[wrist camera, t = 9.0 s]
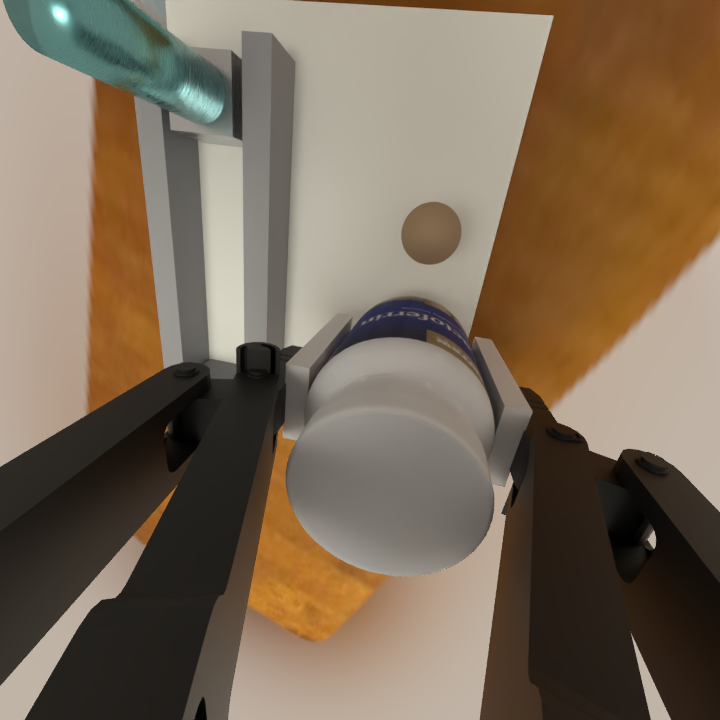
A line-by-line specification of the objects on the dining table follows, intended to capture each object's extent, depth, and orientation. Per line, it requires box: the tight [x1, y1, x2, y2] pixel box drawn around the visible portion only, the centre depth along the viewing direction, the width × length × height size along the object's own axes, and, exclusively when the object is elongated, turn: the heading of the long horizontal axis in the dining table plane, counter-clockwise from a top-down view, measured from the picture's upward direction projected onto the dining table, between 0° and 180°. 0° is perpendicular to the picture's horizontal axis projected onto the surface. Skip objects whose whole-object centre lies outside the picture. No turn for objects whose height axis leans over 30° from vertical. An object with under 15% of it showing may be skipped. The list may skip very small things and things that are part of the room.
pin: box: [3, 0, 243, 147], centre depth 12 cm, size 3×3×8 cm
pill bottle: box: [286, 296, 495, 576], centre depth 12 cm, size 6×6×10 cm
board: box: [134, 0, 554, 379], centre depth 16 cm, size 20×16×6 cm
